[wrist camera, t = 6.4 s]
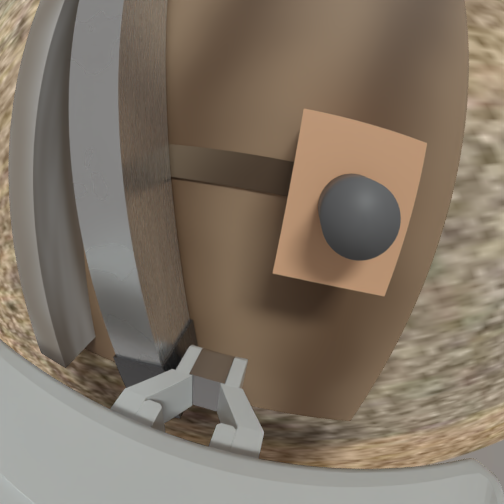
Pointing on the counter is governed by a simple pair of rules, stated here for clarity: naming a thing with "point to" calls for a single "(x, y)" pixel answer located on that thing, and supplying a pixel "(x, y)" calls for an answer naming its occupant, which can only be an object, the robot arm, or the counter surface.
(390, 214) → the tan knobbed block
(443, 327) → the counter surface
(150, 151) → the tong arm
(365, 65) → the brown wooden board
